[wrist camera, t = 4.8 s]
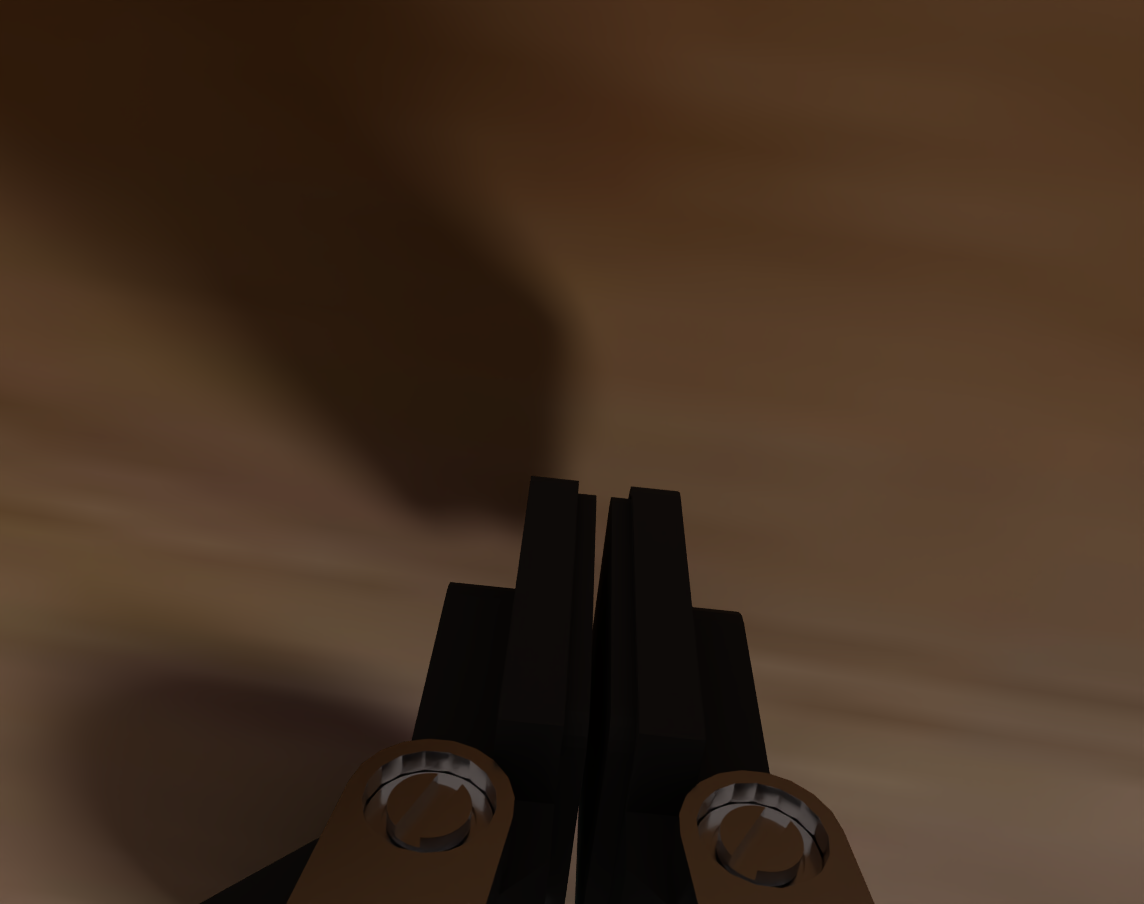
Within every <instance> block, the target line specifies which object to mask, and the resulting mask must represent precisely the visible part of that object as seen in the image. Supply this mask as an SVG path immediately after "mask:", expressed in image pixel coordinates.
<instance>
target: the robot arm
mask: <svg viewBox="0 0 1144 904" xmlns="http://www.w3.org/2000/svg"><path fill="white" fill-rule="evenodd" d="M578 486H579V481H574V480H565V479H555V478H546V477H536V476H531V481H530V488H529V495H528V502H527V509H526V517H525V524H524V531H523V538H522V545H521V552H520V560H519V567H518V574H517V581H516V588H515V589H512V588H503V587H493V586H483V585H474V584H464V583H454V582H450V584H449V586H448V589H447V593H446V597H445V601H444V605H443V610H442V614H441V618H440V622H439V627H438V631H437V635H436V639H435V644H434V648H433V652H432V656H431V660H430V665H429V669H428V673H427V677H426V682H425V686H424V690H423V694H422V699H421V703H420V707H419V711H418V716H417V720H416V724H415V728H414V733H413V737H412V741H406V742H402V743H399V744H397V745H394V746H391V747H389V748H386V749H383V750H381V751H379V752H378V753H376V754H375V755H374V756H372V757H371V758H369V759H368V760H367V761H365V762H364V763H362V764H361V766H360V767H359V768H358V769H357V771H356V772H355V773H354V775H353V776H352V777H351V779H350V780H349V781H348V783H347V785H346V787H345V789H344V791H343V793H342V795H341V797H340V799H339V801H338V803H337V805H336V807H335V809H334V811H333V813H332V815H331V817H330V819H329V821H328V823H327V825H326V827H325V829H324V831H323V833H322V835H321V837H319V838H318V839H316V840H314V841H312V842H310V843H309V844H307V845H305V846H303V847H301V848H300V849H298V850H296V851H294V852H292V853H290V854H289V855H287V856H285V857H283V858H281V859H280V860H278V861H276V862H274V863H272V864H271V865H269V866H267V867H265V868H263V869H261V870H260V871H258V872H256V873H254V874H252V875H251V876H249V877H247V878H245V879H243V880H242V881H240V882H238V883H236V884H234V885H232V886H231V887H229V888H227V889H225V890H223V891H222V892H220V893H218V894H216V895H214V896H213V897H211V898H209V899H207V900H205V901H203V902H202V903H200V904H565V897H566V890H567V883H568V876H569V869H570V862H571V855H572V848H573V841H574V834H575V827H576V820H577V813H578V806H579V813H578V838H577V864H576V890H575V904H874V902H873V899H872V897H871V894H870V892H869V890H868V887H867V885H866V883H865V880H864V878H863V876H862V873H861V871H860V868H859V866H858V864H857V861H856V859H855V857H854V854H853V852H852V850H851V847H850V845H849V842H848V840H847V838H846V835H845V833H844V831H843V829H842V827H841V826H840V824H839V823H838V821H837V819H836V818H835V816H834V815H833V813H832V811H831V810H830V809H829V808H828V807H826V806H825V805H824V804H823V803H822V802H821V801H820V800H819V799H818V798H817V797H816V796H815V795H814V794H812V793H811V792H809V791H807V790H805V789H804V788H802V787H800V786H799V785H797V784H795V783H794V782H792V781H790V780H786V779H783V778H780V777H777V776H774V775H771V774H770V772H769V766H768V761H767V755H766V749H765V743H764V737H763V732H762V726H761V720H760V714H759V708H758V702H757V697H756V691H755V685H754V679H753V673H752V668H751V662H750V656H749V650H748V644H747V639H746V633H745V627H744V622H743V619H742V615H741V614H740V613H739V612H734V611H724V610H715V609H705V608H695V607H692V601H691V592H690V582H689V573H688V563H687V554H686V544H685V535H684V525H683V516H682V506H681V497H680V492H678V491H669V490H660V489H650V488H641V487H631V489H630V493H629V498H628V499H625V498H615V497H611V500H610V506H609V513H608V520H607V527H606V535H605V542H604V549H603V557H602V564H601V571H600V579H599V586H598V593H597V601H596V608H595V615H594V623H593V594H594V561H595V527H596V495H587V494H578ZM592 627H593V630H592Z"/></svg>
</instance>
